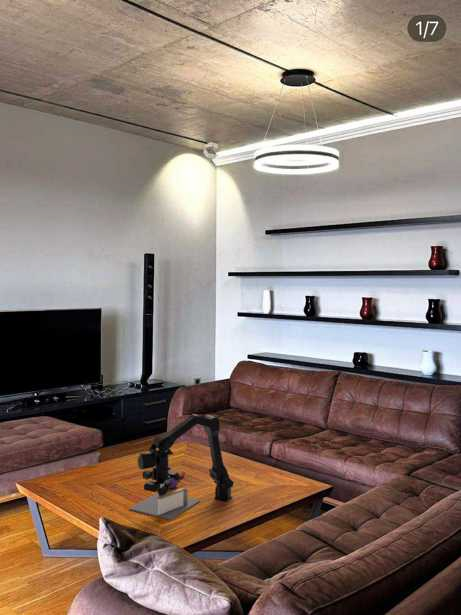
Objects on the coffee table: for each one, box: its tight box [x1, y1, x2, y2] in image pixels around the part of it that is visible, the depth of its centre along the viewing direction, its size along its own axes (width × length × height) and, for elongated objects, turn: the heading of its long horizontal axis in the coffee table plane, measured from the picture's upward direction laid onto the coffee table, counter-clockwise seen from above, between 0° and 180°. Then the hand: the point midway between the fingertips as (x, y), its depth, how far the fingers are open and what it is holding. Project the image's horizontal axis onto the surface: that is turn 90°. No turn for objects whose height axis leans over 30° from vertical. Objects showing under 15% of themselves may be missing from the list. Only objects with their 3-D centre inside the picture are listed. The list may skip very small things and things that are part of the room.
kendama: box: [169, 469, 186, 489], centre depth 295 cm, size 6×6×20 cm
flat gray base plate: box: [128, 487, 201, 521], centre depth 265 cm, size 22×24×8 cm
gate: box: [158, 488, 184, 515], centre depth 258 cm, size 14×2×7 cm, turn 139°
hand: (162, 500), depth 258 cm, fingers closed
